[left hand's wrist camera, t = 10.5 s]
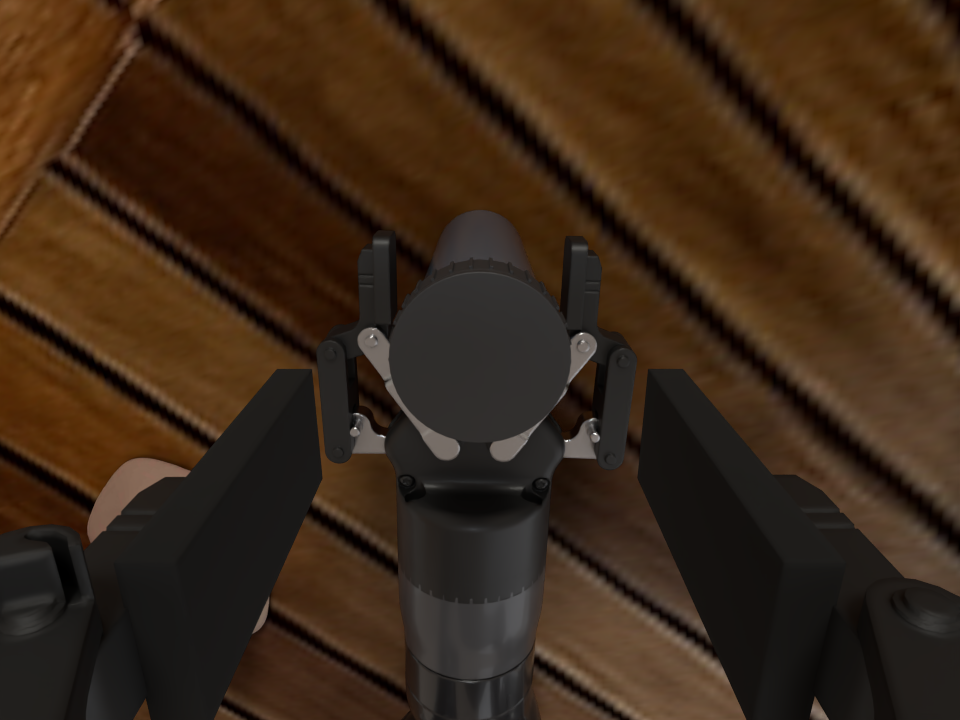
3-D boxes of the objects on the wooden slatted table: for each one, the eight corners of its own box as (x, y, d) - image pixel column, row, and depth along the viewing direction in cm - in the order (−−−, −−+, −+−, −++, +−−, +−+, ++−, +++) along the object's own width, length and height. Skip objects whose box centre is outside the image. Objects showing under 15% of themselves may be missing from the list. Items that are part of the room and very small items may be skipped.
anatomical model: (45, 481, 34) (262, 518, 34) (88, 446, 37) (283, 480, 38) (51, 669, 38) (243, 699, 39) (89, 621, 42) (264, 648, 43)
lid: (422, 436, 21) (416, 463, 19) (371, 281, 19) (360, 296, 17) (581, 398, 20) (590, 422, 19) (544, 236, 19) (551, 246, 17)
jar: (450, 304, 35) (426, 442, 19) (426, 222, 33) (381, 302, 18) (531, 283, 34) (572, 407, 19) (511, 199, 33) (538, 261, 17)
